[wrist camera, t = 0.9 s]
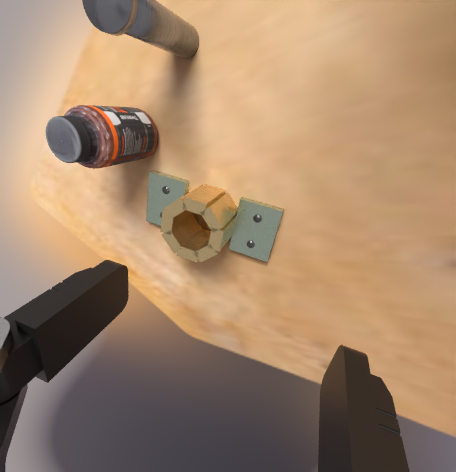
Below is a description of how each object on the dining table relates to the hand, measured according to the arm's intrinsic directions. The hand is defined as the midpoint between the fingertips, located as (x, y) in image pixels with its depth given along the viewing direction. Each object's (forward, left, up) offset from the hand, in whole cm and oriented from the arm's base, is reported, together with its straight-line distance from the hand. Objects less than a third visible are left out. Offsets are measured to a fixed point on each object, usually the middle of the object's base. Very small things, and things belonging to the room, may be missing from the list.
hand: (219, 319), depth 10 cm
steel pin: (-11, -15, -24) cm, 30 cm away
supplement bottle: (-1, -20, -24) cm, 31 cm away
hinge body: (+7, -9, -24) cm, 26 cm away
